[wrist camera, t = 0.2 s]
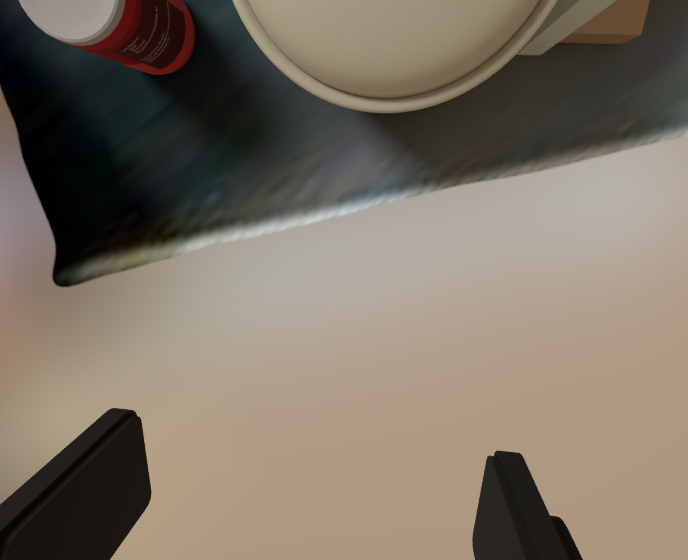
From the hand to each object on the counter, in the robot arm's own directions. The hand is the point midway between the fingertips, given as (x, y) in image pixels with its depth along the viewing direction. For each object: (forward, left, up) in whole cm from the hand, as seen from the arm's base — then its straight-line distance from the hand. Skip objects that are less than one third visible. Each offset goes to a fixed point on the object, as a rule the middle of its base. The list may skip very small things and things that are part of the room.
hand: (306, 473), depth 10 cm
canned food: (-19, -21, -31) cm, 42 cm away
